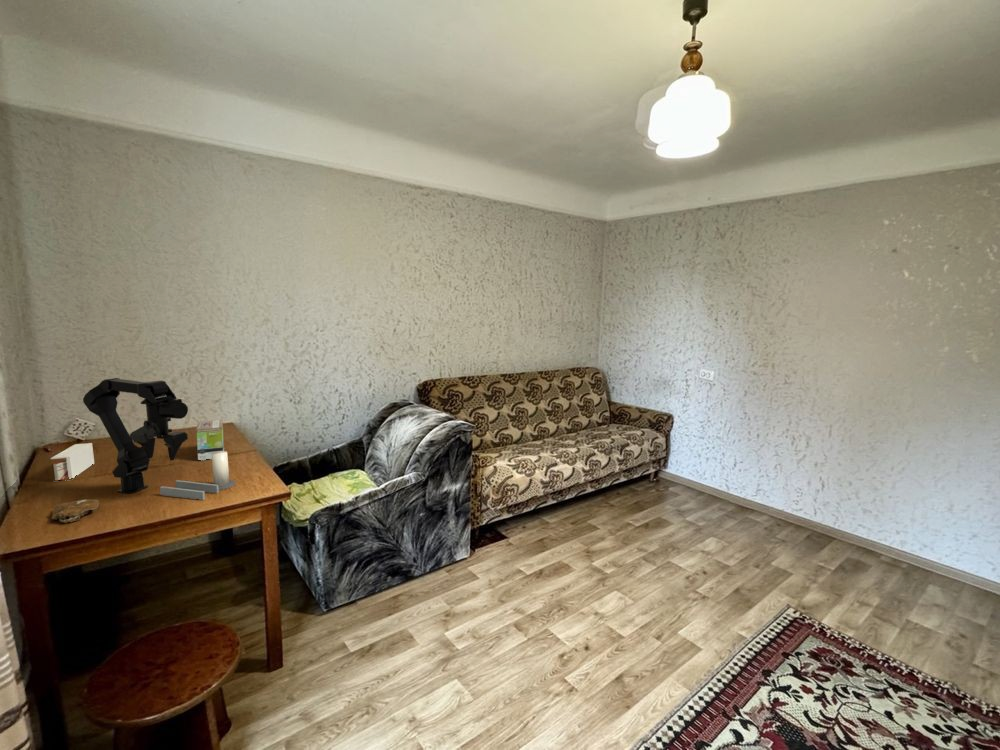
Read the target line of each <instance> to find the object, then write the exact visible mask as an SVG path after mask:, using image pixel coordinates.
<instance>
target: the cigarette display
mask: <svg viewBox="0 0 1000 750" xmlns="http://www.w3.org/2000/svg"><path fill="white" fill-rule="evenodd" d="M60 459H65V460H63V461H59V462H56V463H53V471H54V480H61V479H64V478H67V477H69V479H71V478H73V479H74V478H75V476H76V475H77V476H79V475H80V474H82V473H83V472H84V471H86V470H87V469H88V468H90V467H91V466H93V465H95V457H94V448H93V443H92V442H88V443H74V444H73V445H71V446H69V447H68V448H65V450H63V451H60V452H59V453H57V454H56V455H53V456H52V457H50V460H60ZM92 464H93V465H92ZM77 476H76V477H77Z"/></svg>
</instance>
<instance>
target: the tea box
mask: <svg viewBox="0 0 1000 750" xmlns="http://www.w3.org/2000/svg"><path fill="white" fill-rule="evenodd" d="M195 432H196V447H197V448H196V449H197V450H196V451H197V461H198V460H201V461H207V460H206V459H210V460H212V453H214V452H219V451H225V442H224V441H225V440H224V425H223V420H222V419H218V420H207V421H206V420H205V421H198V422H197V424H196V431H195Z"/></svg>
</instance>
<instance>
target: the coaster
mask: <svg viewBox="0 0 1000 750" xmlns="http://www.w3.org/2000/svg"><path fill="white" fill-rule="evenodd" d="M211 484H214V482H213V483H211ZM235 484H237V482H236V481H235V480H230V479H229V485H227V486H225V487H219V491H224V490H223V489H225V490H228V489H231V488H233V487H235V486H236V485H235ZM234 485H235V486H234ZM232 486H233V487H232ZM230 487H231V488H230ZM227 488H228V489H227Z"/></svg>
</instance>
